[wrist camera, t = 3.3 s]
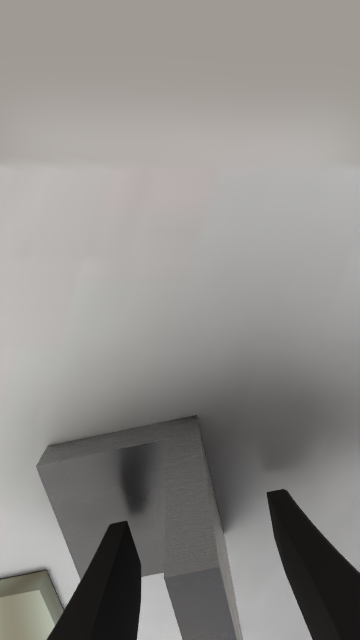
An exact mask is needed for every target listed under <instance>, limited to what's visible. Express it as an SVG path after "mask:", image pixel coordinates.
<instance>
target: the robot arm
mask: <svg viewBox="0 0 360 640" xmlns="http://www.w3.org/2000/svg"><path fill="white" fill-rule="evenodd" d="M267 498H268V504H269V509H270V515H271V521H272V527H273V532H274V538H275V541H276V545H277V548H278V551H279V554H280V557H281V561H282V564H283V567H284V570H285V573H286V576H287V578H288V580H289V583H290V585H291V588H292V590H293V593H294V595H295V598H296V600H297V603H298V605H299V607H300V610H301V612H302V615H303V617H304V620H305V622H306V624H307V627H308V629H309V632H310V634H311V637H312V639H313V640H360V573H359V572H358V571H357V570H356V569H355V568H354V567H353V566H352V565H351V564H350V563H349V562H348V561H347V560H346V559H345V558H344V557H343V556H342V555H341V554H340V553H339V552H338V551H337V550H336V549H335V548H334V546H333V545H332V544H331V543H330V542H329V541H328V540H327V539H326V538H325V537H324V536H323V534H322V533H321V532H320V531H319V530H318V529H317V528H316V527H315V526H314V524H313V523H312V522H311V521H310V520H309V518H308V517H307V516H306V515H305V514H304V512H303V511H302V510H301V509H300V507H299V506H298V505H297V504H296V502H295V501H294V500H293V498H292V497H291V496H290V494H289V493H288V491H286V490H285V489H281V490H276V491H271V492H267ZM140 604H141V562H140V559H139V556H138V553H137V549H136V546H135V543H134V540H133V537H132V534H131V531H130V528H129V525H128V521H122V522H117V523H112V524H110V525H109V526H108V528H107V530H106V532H105V534H104V536H103V538H102V541H101V543H100V545H99V547H98V549H97V551H96V553H95V555H94V557H93V559H92V560H91V562H90V564H89V566H88V568H87V570H86V572H85V574H84V576H83V578H82V579H81V581H80V583H79V585H78V587H77V589H76V591H75V592H74V594H73V596H72V598H71V599H70V601H69V603H68V605H67V606H66V608H65V610H64V611H63V613H62V615H61V616H60V618H59V620H58V622H57V623H56V625H55V627H54V628H53V630H52V631H51V633H50V635H49V636H48V638H47V639H46V640H137V632H138V623H139V614H140Z"/></svg>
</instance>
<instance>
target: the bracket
mask: <svg viewBox="0 0 360 640" xmlns="http://www.w3.org/2000/svg"><path fill="white" fill-rule="evenodd" d="M36 467H37V470H38V472H39V475H40V477H41V480H42V483H43V485H44V488H45V490H46V493H47V495H48V498H49V500H50V503H51V505H52V508H53V511H54V513H55V516H56V518H57V521H58V523H59V526H60V528H61V531H62V534H63V536H64V539H65V541H66V544H67V546H68V549H69V551H70V554H71V556H72V559H73V562H74V564H75V567H76V569H77V572H78V574H79V577H80V579H82V578H83V576H84V574H85V572H86V570H87V568H88V566H89V564H90V562H91V560H92V559H93V557H94V555H95V553H96V551H97V549H98V547H99V545H100V543H101V541H102V538H103V536H104V534H105V532H106V530H107V528H108V526H109V525H110V524H112V523H117V522H122V521H128V525H129V528H130V531H131V534H132V537H133V540H134V543H135V546H136V549H137V553H138V556H139V559H140V562H141V577H143V576H148V575H153V574H158V573H163V572H164V579H165V583H166V586H167V589H168V592H169V596H170V599H171V602H172V606H173V609H174V612H175V616H176V619H177V622H178V626H179V629H180V632H181V636H182V639H183V640H243V638H242V633H241V627H240V621H239V616H238V610H237V605H236V599H235V594H234V588H233V583H232V577H231V572H230V566H229V561H228V555H227V550H226V544H225V539H224V533H223V529H222V524H221V520H220V516H219V511H218V507H217V502H216V498H215V494H214V489H213V485H212V480H211V476H210V472H209V467H208V463H207V458H206V454H205V449H204V445H203V441H202V436H201V432H200V427H199V423H198V419H197V415H195V416H190V417H185V418H181V419H176V420H171V421H166V422H161V423H157V424H152V425H147V426H142V427H137V428H133V429H128V430H123V431H118V432H113V433H109V434H104V435H99V436H94V437H89V438H85V439H80V440H75V441H70V442H65V443H61V444H56V445H51V446H48V447H47V448H46V450H45V452H44V453H43V455H42V457H41V459H40V460H39V462H38V464H37V466H36Z"/></svg>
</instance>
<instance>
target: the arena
mask: <svg viewBox="0 0 360 640" xmlns="http://www.w3.org/2000/svg"><path fill="white" fill-rule="evenodd" d="M62 613H63V608H62V606H61V604H60V601H59V599H58V597H57V594H56V592H55V590H54V587H53V585H52V583H51V580H50V578H49V576H48V573H47V571H41V572H36V573H31V574H26V575H21V576H16V577H11V578H6V579H1V580H0V640H46V639H47V638H48V636H49V635H50V633H51V631H52V630H53V628H54V627H55V625H56V623H57V622H58V620H59V618H60V616H61V615H62Z"/></svg>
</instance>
